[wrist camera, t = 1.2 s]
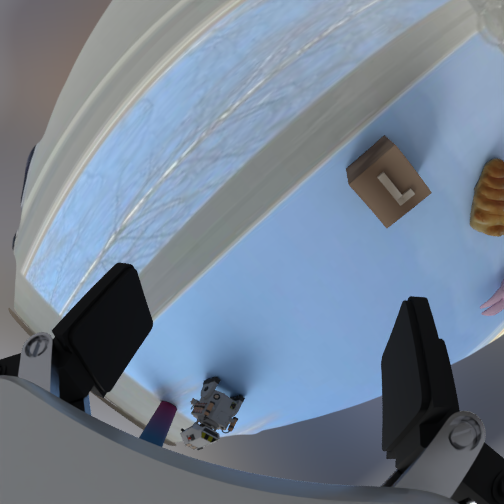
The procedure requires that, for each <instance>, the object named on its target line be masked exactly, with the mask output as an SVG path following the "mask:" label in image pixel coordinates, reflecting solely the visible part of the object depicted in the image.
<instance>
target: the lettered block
mask: <svg viewBox="0 0 504 504" xmlns="http://www.w3.org/2000/svg"><path fill="white" fill-rule="evenodd" d="M346 172H347V178H348V184H349V186H350V187H351V188H352V189H353V190H354V191H355V192H356V193H357V194H358V196H359V197H360V198H361V199H362V200H363V201H364V202H365V203H366V205H367V206H368V207H369V208H370V209H371V210H372V212H373V213H374V214H375V215H376V216H377V217H378V219H379V220H380V221H381V222H382V223H383V225H384V226H385V227H386V228H388V227H389V226H391V225H392V224H393V223H395V222H396V221H397V220H398V219H400V218H401V217H402V216H403V215H405V214H406V213H407V212H409V211H410V210H411V209H412V208H414V207H415V206H416V205H417V204H418V203H420V202H421V201H422V200H423V199H425V198H426V197H427V196H428V195H430V194H431V191H430V190H429V188H428V187H427V185H426V184H425V183H424V181H423V180H422V178H421V177H420V176H419V174H418V173H417V172H416V170H415V169H414V168H413V166H412V165H411V164H410V163H409V161H408V160H407V159H406V157H405V156H404V155H403V154H402V152H401V151H400V150H399V149H398V147H397V146H396V145H395V144H394V143H393V142H392V141H390V140H389V139H388V138H387V137H386V136H385V135H384V136H383V137H382V138H381V139H379V140H378V141H377V142H376V143H375V144H374V145H373V146H371V147H370V148H369V149H368V150H367V151H366V152H365V153H363V154H362V155H361V156H360V157H359V158H358V159H357V160H356V161H354V162H353V163H352V164H351V165H350V166H349V167H348V168H346Z"/></svg>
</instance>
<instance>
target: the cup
mask: <svg viewBox="0 0 504 504" xmlns="http://www.w3.org/2000/svg"><path fill="white" fill-rule="evenodd" d="M176 411H177V408H176V407H175V406H174V405H172V404H171V403H168V402H165V401H162V402H161V403H160V405H159V407H158V408H157V410H156V411H155V413H154V415H153V416H152V418H151V419H150V421H149V423H148V424H147V426H146V427H145V429H144V431H143V432H142V434H141V436H140V437H139V438H140V439H142V440H145V441H147V442H150V443H152V444H155V445H157V446H160V447H162V446H163V443H164V441H165V438H166V436H167V433H168V431H169V428H170V426H171V423H172V421H173V418H174V416H175V413H176Z"/></svg>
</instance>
